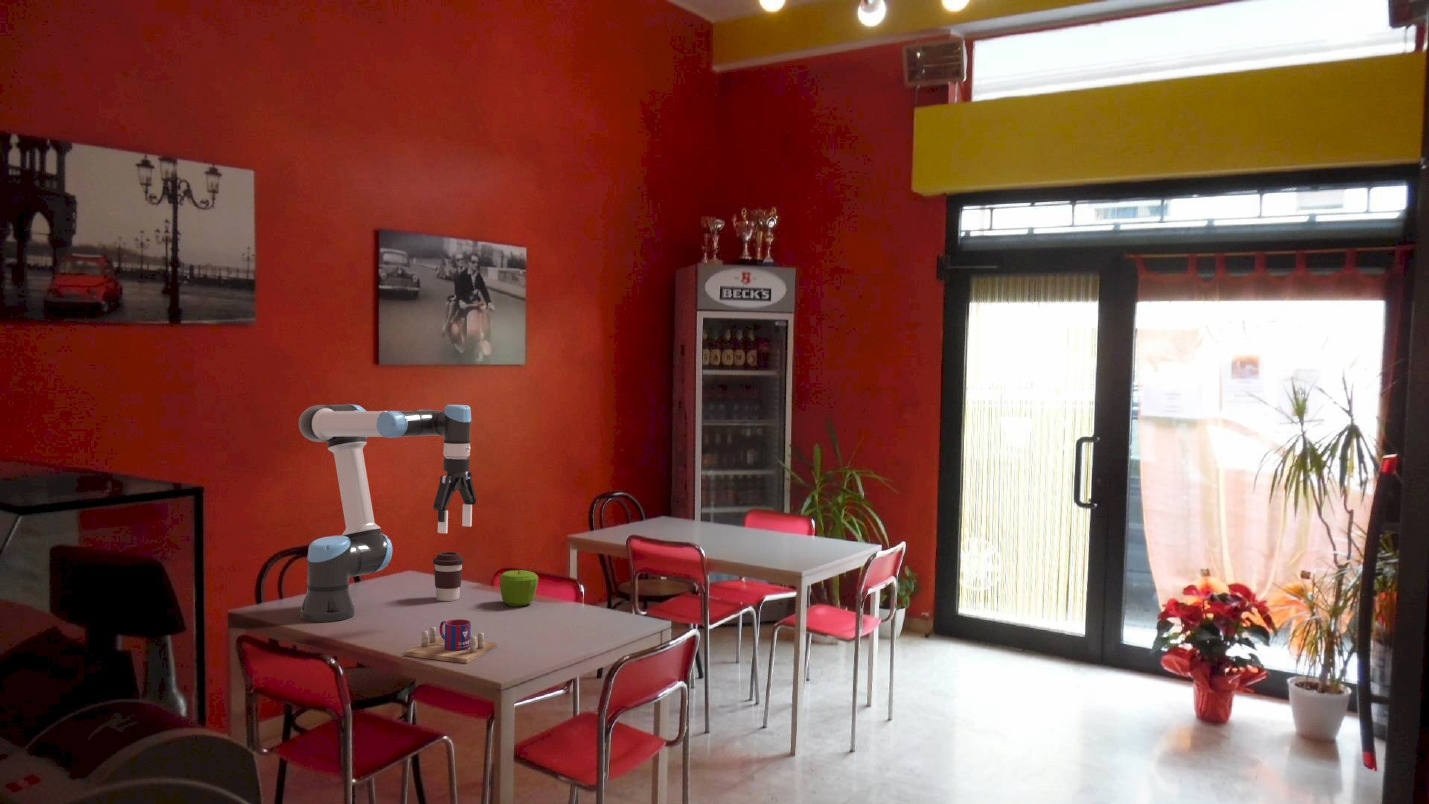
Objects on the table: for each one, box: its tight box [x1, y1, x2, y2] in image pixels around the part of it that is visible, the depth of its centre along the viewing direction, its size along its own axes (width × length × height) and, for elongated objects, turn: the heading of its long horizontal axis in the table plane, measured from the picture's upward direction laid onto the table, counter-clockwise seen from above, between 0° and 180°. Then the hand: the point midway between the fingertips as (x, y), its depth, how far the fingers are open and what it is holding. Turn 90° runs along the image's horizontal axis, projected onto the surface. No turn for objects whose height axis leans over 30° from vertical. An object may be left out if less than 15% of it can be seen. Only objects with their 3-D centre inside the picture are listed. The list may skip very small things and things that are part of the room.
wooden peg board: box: [405, 626, 498, 664], centre depth 263 cm, size 18×16×5 cm
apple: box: [499, 569, 539, 607], centre depth 317 cm, size 12×12×11 cm
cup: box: [439, 618, 472, 651], centre depth 264 cm, size 7×10×7 cm
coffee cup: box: [432, 551, 465, 602], centre depth 321 cm, size 10×10×15 cm
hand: (455, 529), depth 287 cm, fingers open, 13 cm apart
